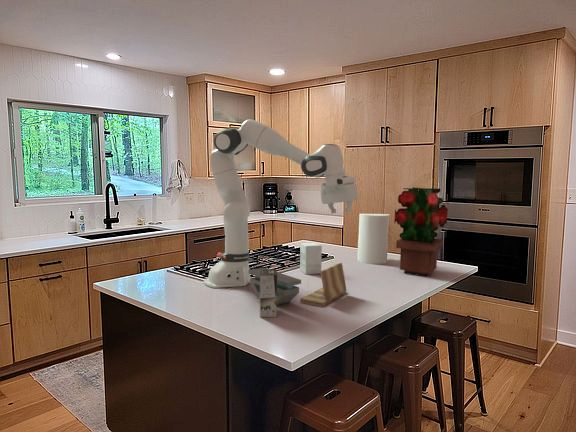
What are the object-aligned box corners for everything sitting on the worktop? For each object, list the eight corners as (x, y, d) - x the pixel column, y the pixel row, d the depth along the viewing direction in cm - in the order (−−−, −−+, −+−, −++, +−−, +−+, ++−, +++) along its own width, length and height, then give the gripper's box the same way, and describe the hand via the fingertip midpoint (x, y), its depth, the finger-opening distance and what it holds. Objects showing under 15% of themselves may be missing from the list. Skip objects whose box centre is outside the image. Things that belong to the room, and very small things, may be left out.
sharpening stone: (248, 294, 190) (248, 270, 189) (262, 291, 195) (263, 267, 194) (285, 310, 171) (286, 283, 170) (300, 306, 176) (301, 279, 175)
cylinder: (389, 264, 253) (392, 216, 249) (359, 263, 253) (361, 215, 249) (383, 257, 270) (386, 212, 266) (355, 257, 270) (357, 211, 267)
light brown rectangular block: (321, 307, 176) (322, 293, 175) (300, 302, 181) (300, 289, 180) (346, 292, 196) (346, 280, 195) (326, 288, 201) (326, 277, 201)
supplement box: (315, 269, 237) (316, 242, 235) (321, 273, 229) (322, 245, 227) (299, 270, 234) (300, 242, 232) (305, 274, 226) (306, 245, 224)
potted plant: (434, 280, 221) (440, 190, 215) (391, 273, 232) (396, 188, 226) (443, 271, 240) (449, 188, 235) (403, 265, 251) (407, 186, 245)
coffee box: (276, 317, 163) (277, 275, 161) (259, 317, 163) (260, 275, 161) (275, 309, 172) (276, 268, 170) (259, 309, 172) (259, 268, 170)
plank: (323, 271, 177) (320, 271, 178) (328, 301, 177) (325, 301, 178) (341, 262, 193) (339, 263, 193) (346, 290, 193) (343, 290, 193)
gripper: (315, 184, 197) (320, 215, 198) (346, 179, 180) (351, 212, 181) (326, 182, 200) (330, 212, 201) (357, 177, 183) (362, 210, 184)
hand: (341, 212), depth 191 cm, fingers open, 8 cm apart
